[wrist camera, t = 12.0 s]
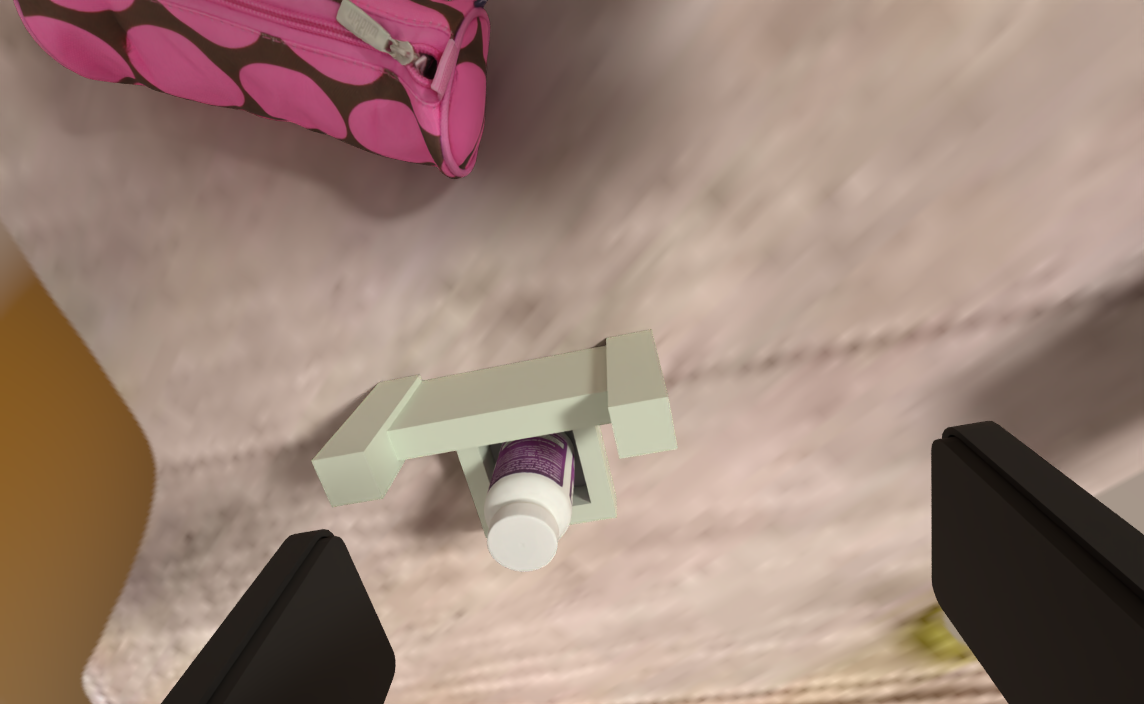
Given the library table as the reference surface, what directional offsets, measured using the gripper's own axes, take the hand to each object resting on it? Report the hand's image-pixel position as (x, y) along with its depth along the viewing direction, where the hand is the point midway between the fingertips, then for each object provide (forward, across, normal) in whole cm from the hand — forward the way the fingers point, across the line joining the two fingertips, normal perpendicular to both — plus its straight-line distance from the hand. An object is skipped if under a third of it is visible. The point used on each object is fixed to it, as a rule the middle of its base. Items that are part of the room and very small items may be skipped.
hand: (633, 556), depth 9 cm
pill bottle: (+28, +8, +14) cm, 32 cm away
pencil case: (+29, +14, -14) cm, 35 cm away
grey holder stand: (+28, +8, +13) cm, 32 cm away
